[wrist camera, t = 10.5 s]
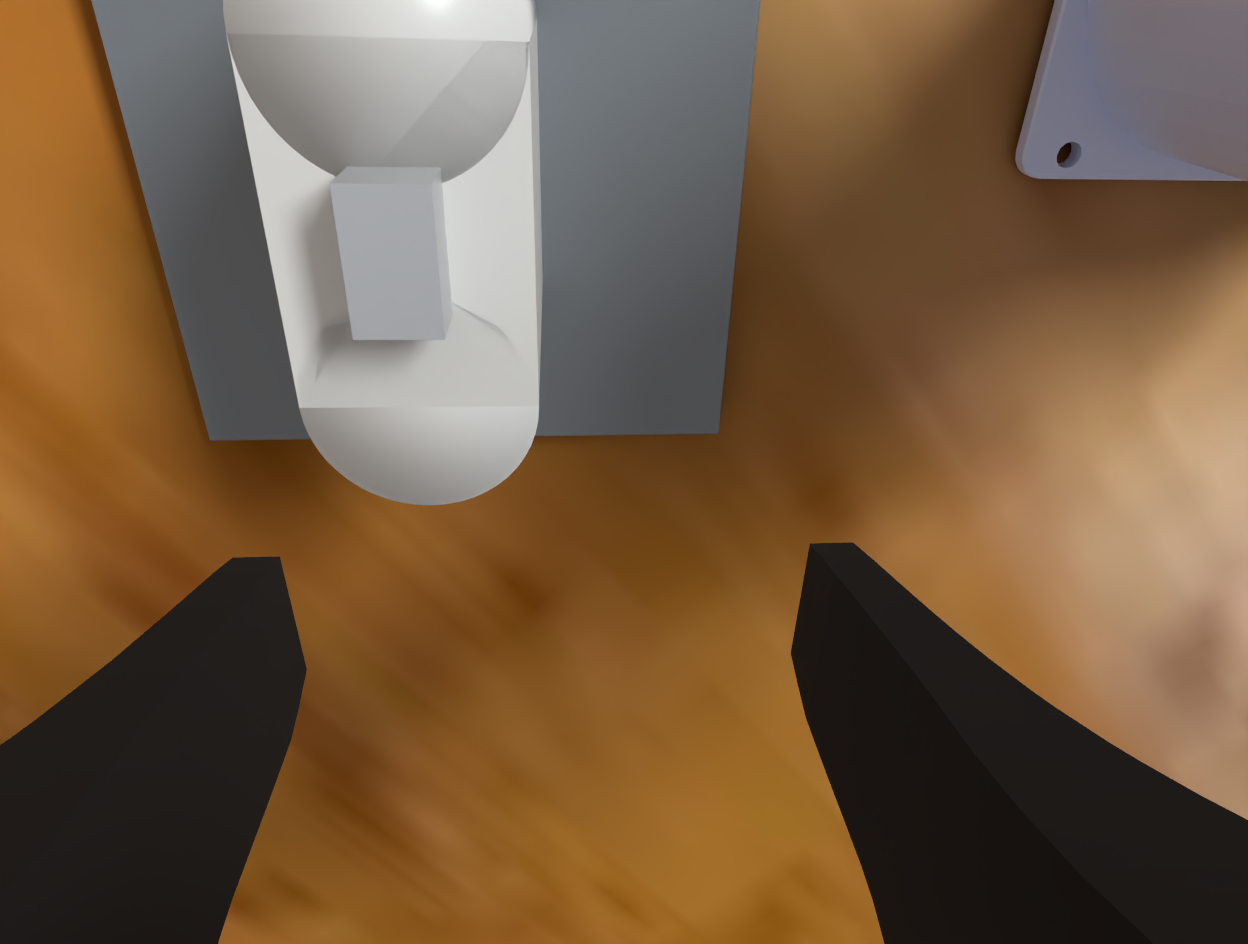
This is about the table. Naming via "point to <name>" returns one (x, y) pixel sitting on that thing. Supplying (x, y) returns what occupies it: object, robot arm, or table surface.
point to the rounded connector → (402, 229)
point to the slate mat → (570, 209)
